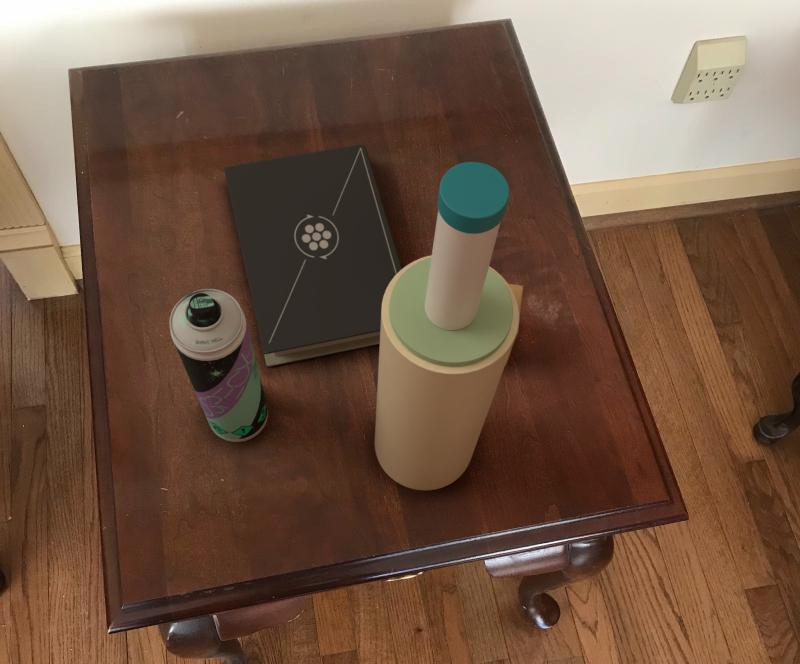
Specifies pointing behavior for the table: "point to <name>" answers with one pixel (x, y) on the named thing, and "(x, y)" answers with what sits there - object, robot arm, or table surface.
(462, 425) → the pedestal
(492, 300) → the pad
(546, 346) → the table surface
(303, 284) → the book
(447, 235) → the vial
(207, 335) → the spray can
